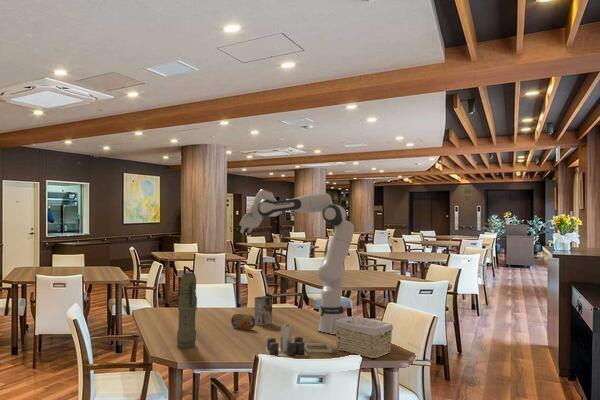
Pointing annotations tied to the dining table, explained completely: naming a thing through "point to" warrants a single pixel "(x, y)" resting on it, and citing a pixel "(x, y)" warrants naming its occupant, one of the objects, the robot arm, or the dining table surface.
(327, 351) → the tray
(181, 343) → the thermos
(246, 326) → the tin
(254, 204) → the robot arm
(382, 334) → the storage basket
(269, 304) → the coffee box
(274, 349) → the spacer board
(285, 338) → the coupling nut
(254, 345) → the dining table surface
